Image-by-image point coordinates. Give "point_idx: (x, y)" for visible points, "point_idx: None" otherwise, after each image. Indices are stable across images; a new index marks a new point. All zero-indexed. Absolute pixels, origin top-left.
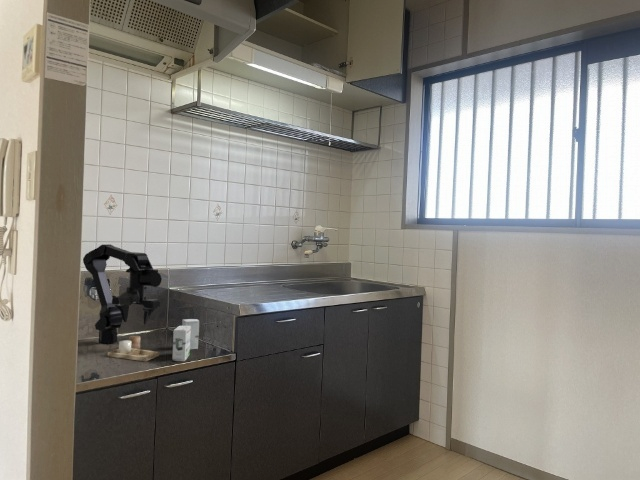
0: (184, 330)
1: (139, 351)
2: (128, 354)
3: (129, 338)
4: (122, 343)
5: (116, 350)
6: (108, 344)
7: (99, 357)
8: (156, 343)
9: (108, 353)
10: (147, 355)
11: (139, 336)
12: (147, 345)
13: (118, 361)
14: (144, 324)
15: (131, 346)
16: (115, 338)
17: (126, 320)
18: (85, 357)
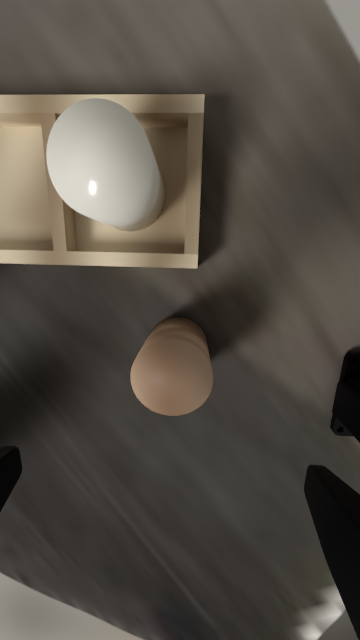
0: None
1: (56, 241)
2: (42, 113)
3: (190, 343)
4: (87, 103)
5: (186, 182)
6: (353, 356)
7: (251, 98)
8: (149, 480)
9: (195, 98)
10: (8, 237)
11: (153, 407)
12: (165, 436)
13: (88, 69)
14: (11, 446)
15: (172, 324)
16: (349, 412)
17: (311, 505)
18: (336, 51)
